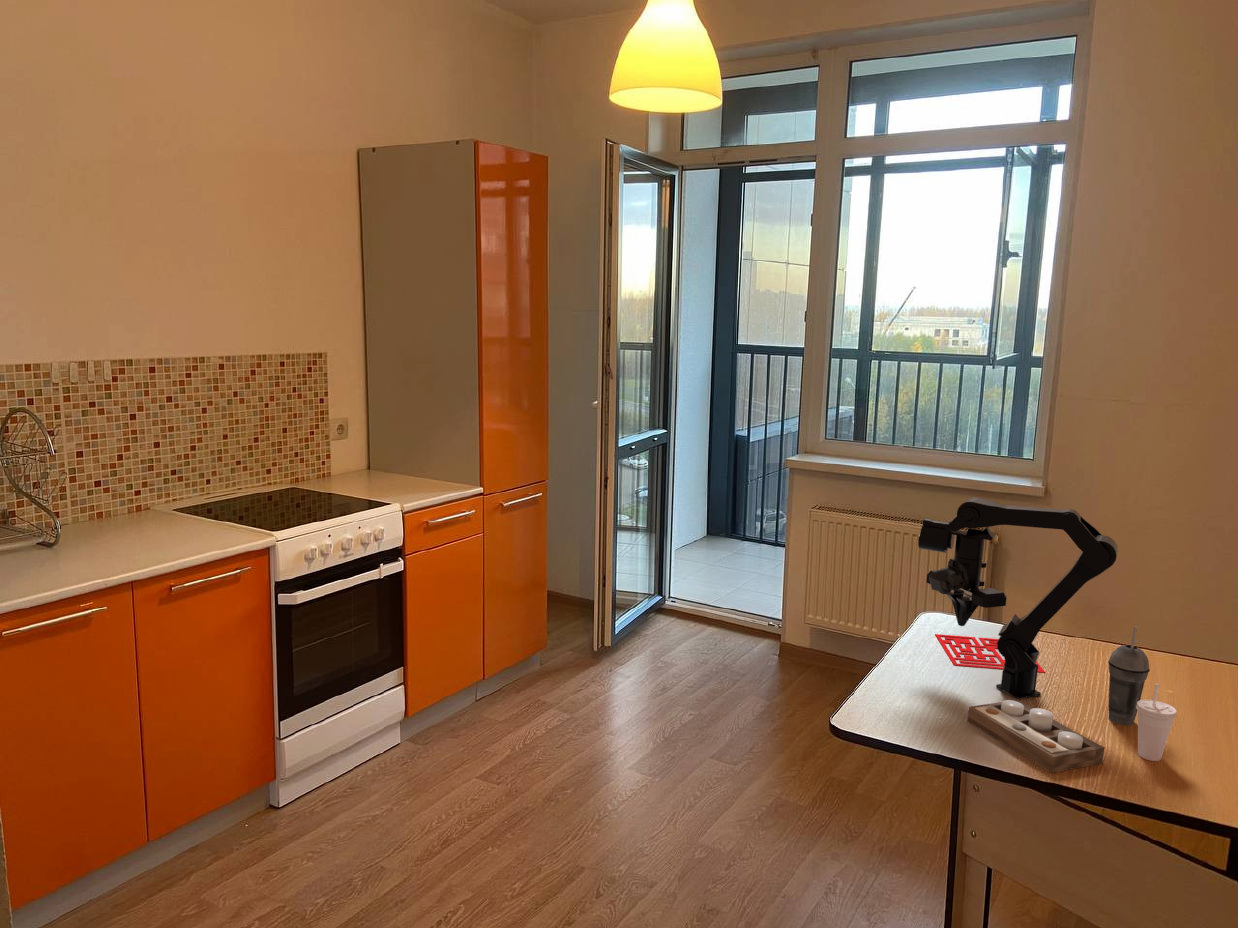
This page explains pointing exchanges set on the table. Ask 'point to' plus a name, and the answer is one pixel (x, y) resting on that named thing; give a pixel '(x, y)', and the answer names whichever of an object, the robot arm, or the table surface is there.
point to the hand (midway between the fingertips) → (961, 625)
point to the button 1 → (1012, 708)
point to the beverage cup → (1126, 681)
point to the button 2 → (1070, 740)
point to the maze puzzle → (979, 654)
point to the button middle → (1040, 720)
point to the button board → (1034, 738)
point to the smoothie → (1153, 726)
